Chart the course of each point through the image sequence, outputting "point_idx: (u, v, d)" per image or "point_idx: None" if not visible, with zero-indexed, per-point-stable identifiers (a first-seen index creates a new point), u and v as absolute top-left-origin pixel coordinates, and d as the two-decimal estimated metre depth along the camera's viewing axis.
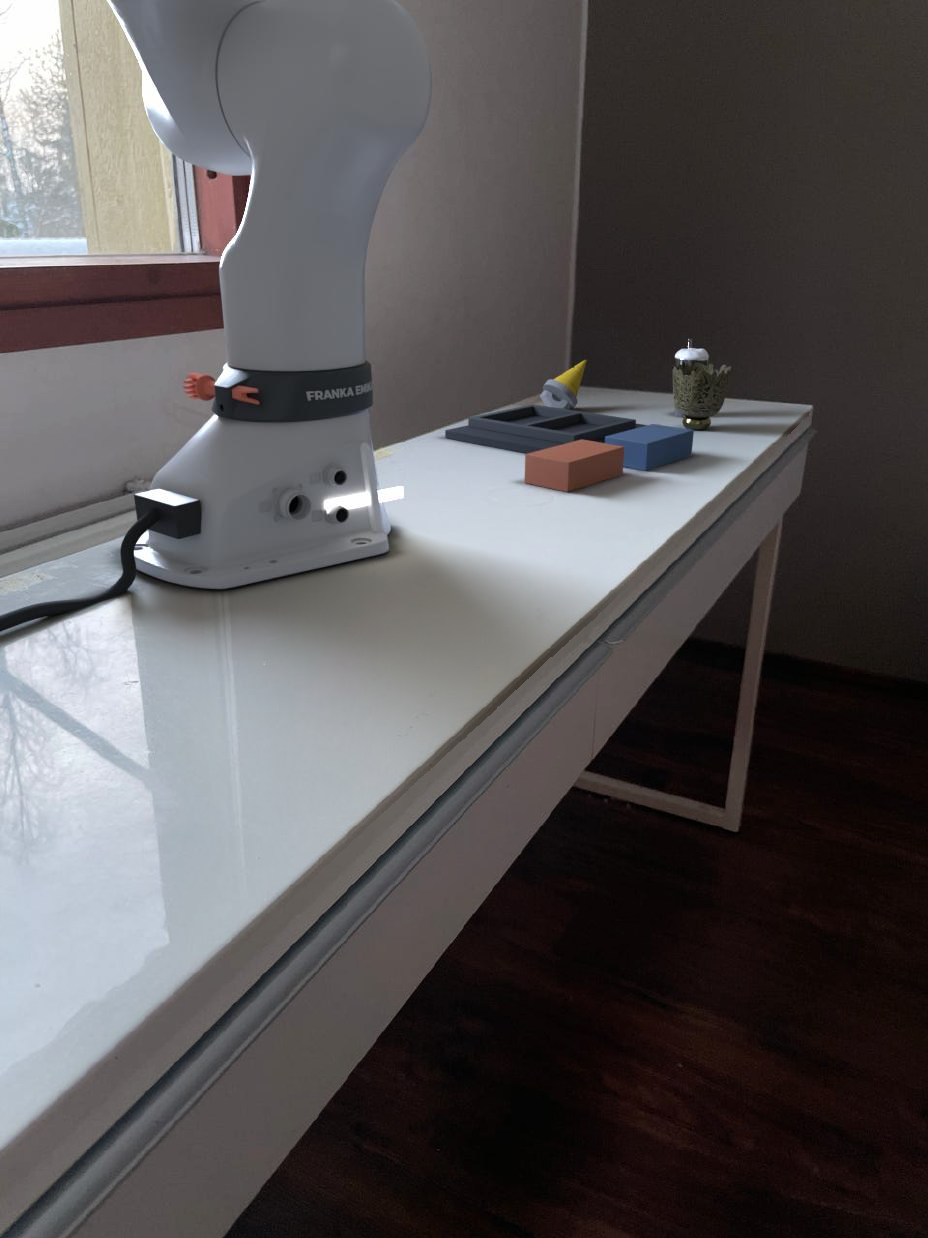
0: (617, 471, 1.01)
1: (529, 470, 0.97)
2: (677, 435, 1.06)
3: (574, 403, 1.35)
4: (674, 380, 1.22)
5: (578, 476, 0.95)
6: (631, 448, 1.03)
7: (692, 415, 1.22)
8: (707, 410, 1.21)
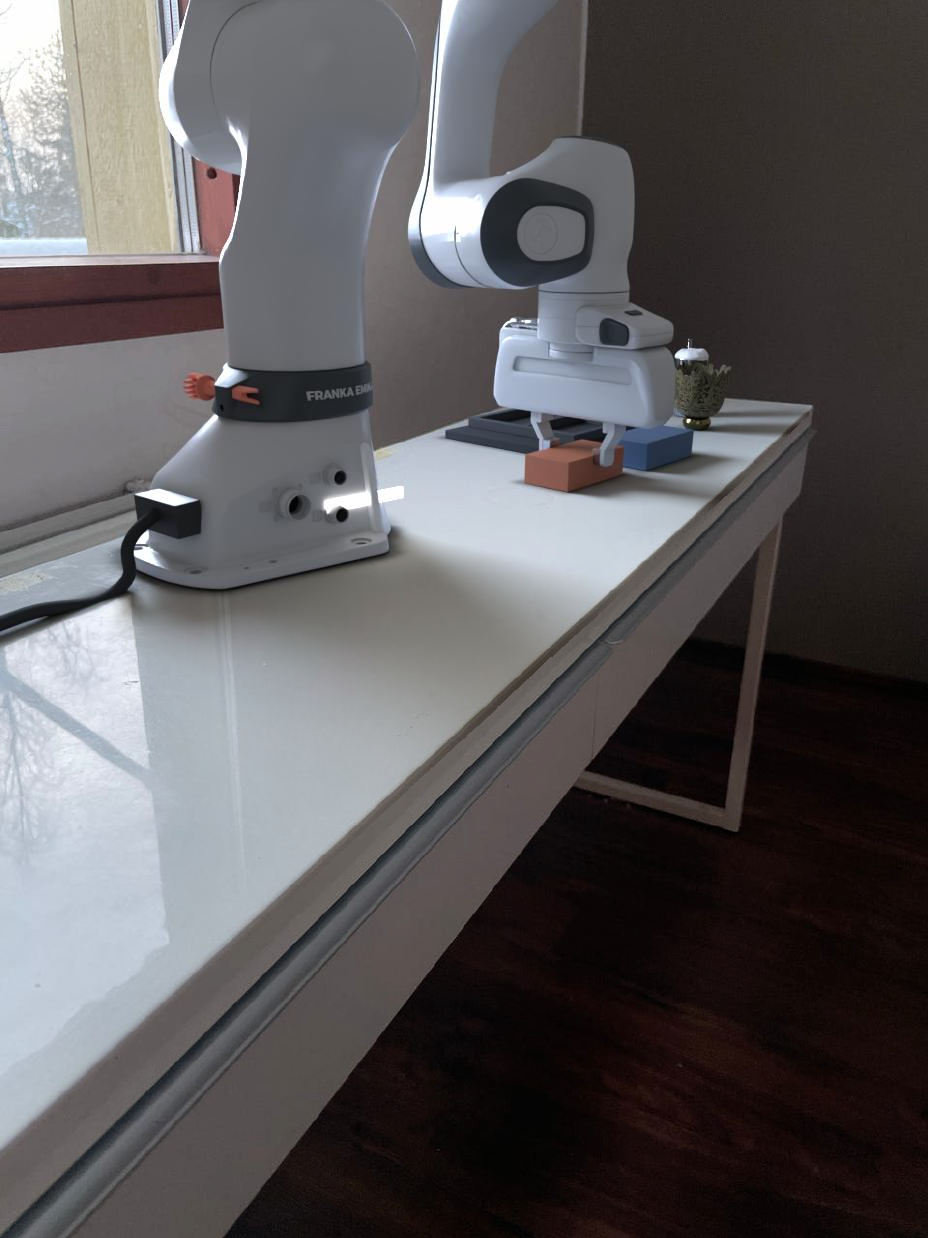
0: (616, 471, 1.01)
1: (529, 470, 0.97)
2: (677, 435, 1.06)
3: None
4: None
5: (578, 476, 0.95)
6: (631, 448, 1.03)
7: (692, 415, 1.22)
8: (707, 410, 1.21)
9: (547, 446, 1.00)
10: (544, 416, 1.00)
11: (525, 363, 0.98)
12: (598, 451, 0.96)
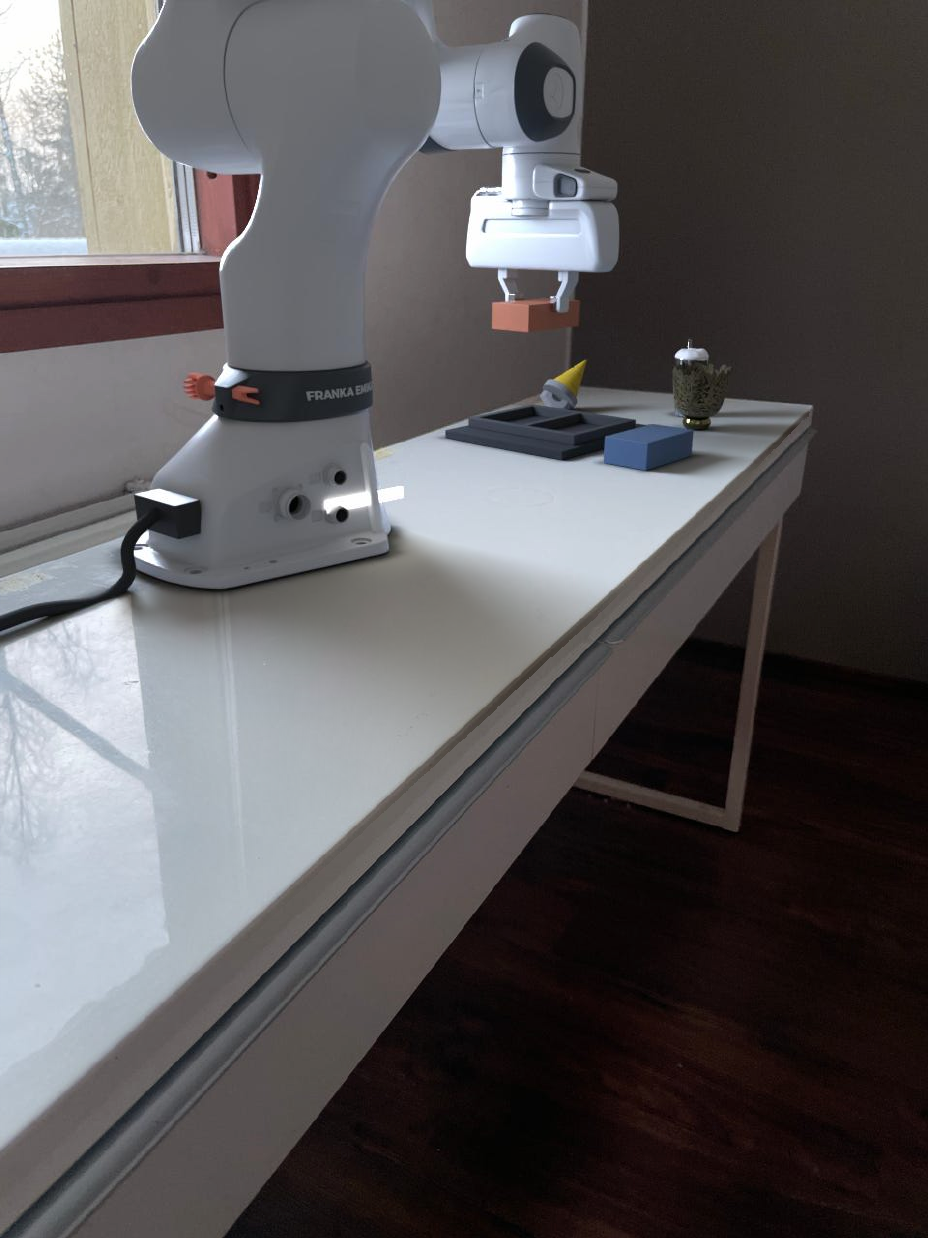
0: (573, 321, 1.16)
1: (496, 317, 1.12)
2: (677, 435, 1.06)
3: (574, 403, 1.35)
4: (674, 380, 1.22)
5: (538, 319, 1.11)
6: (631, 448, 1.03)
7: (692, 415, 1.22)
8: (707, 410, 1.21)
9: (512, 299, 1.15)
10: (509, 273, 1.15)
11: (492, 225, 1.13)
12: (554, 298, 1.11)
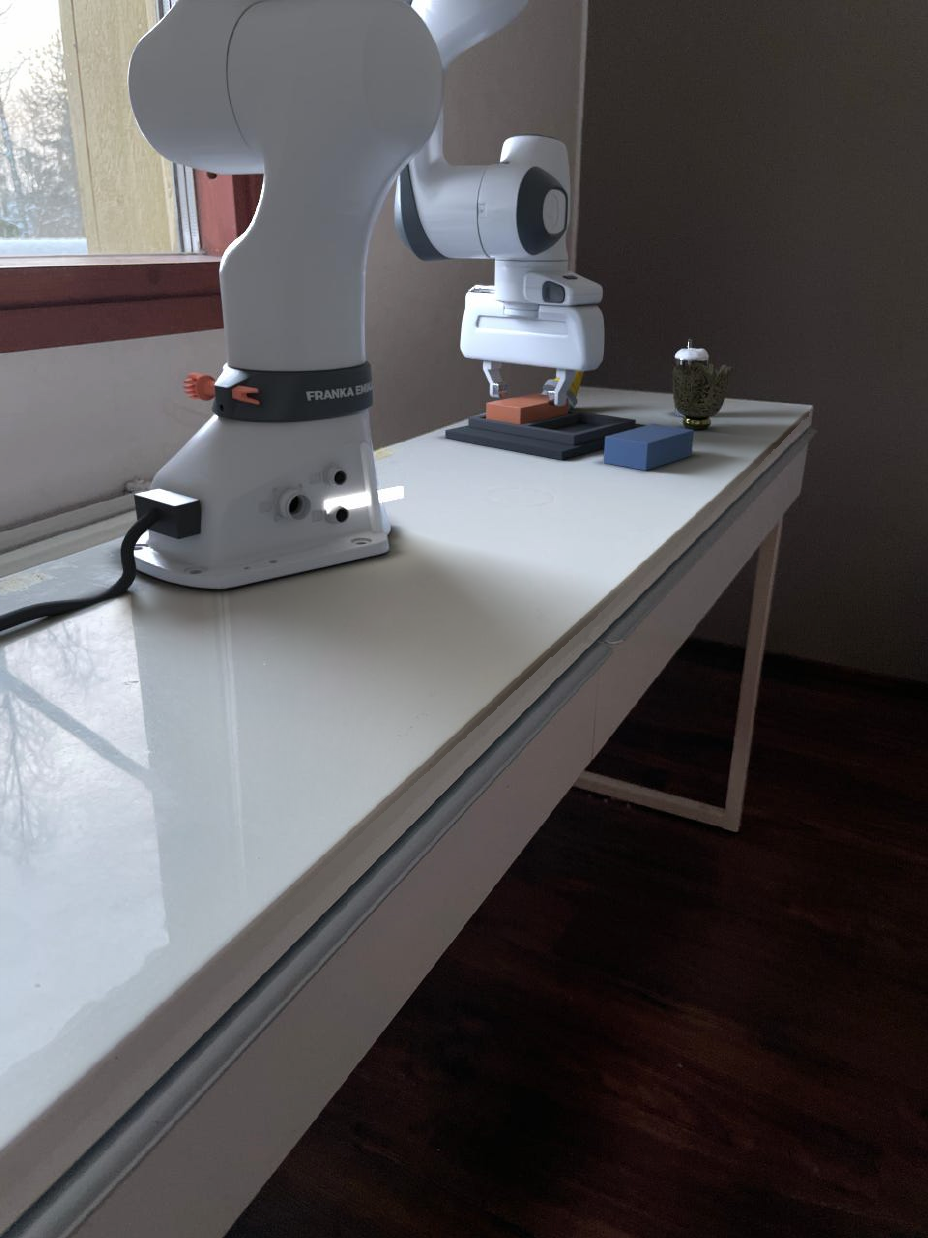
0: None
1: (490, 416, 1.19)
2: (677, 435, 1.06)
3: (574, 403, 1.35)
4: (674, 380, 1.22)
5: (529, 419, 1.18)
6: (631, 448, 1.03)
7: (692, 415, 1.22)
8: (707, 410, 1.21)
9: (496, 389, 1.22)
10: (494, 364, 1.22)
11: (485, 321, 1.20)
12: (552, 393, 1.17)
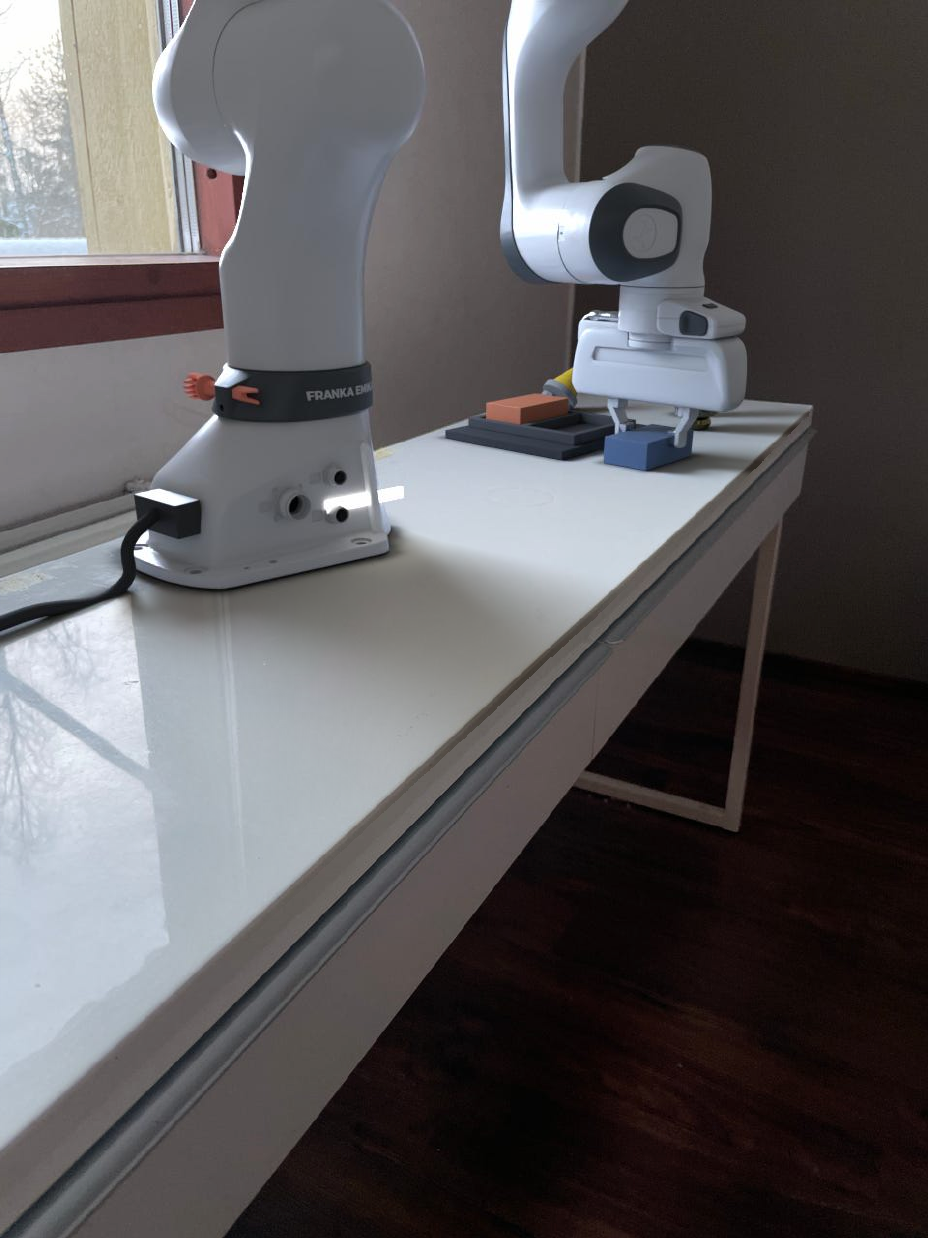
0: None
1: (490, 416, 1.19)
2: None
3: (574, 403, 1.35)
4: None
5: (529, 419, 1.18)
6: (631, 448, 1.04)
7: None
8: (707, 410, 1.21)
9: (623, 429, 1.08)
10: (620, 402, 1.08)
11: (604, 353, 1.06)
12: (672, 433, 1.04)
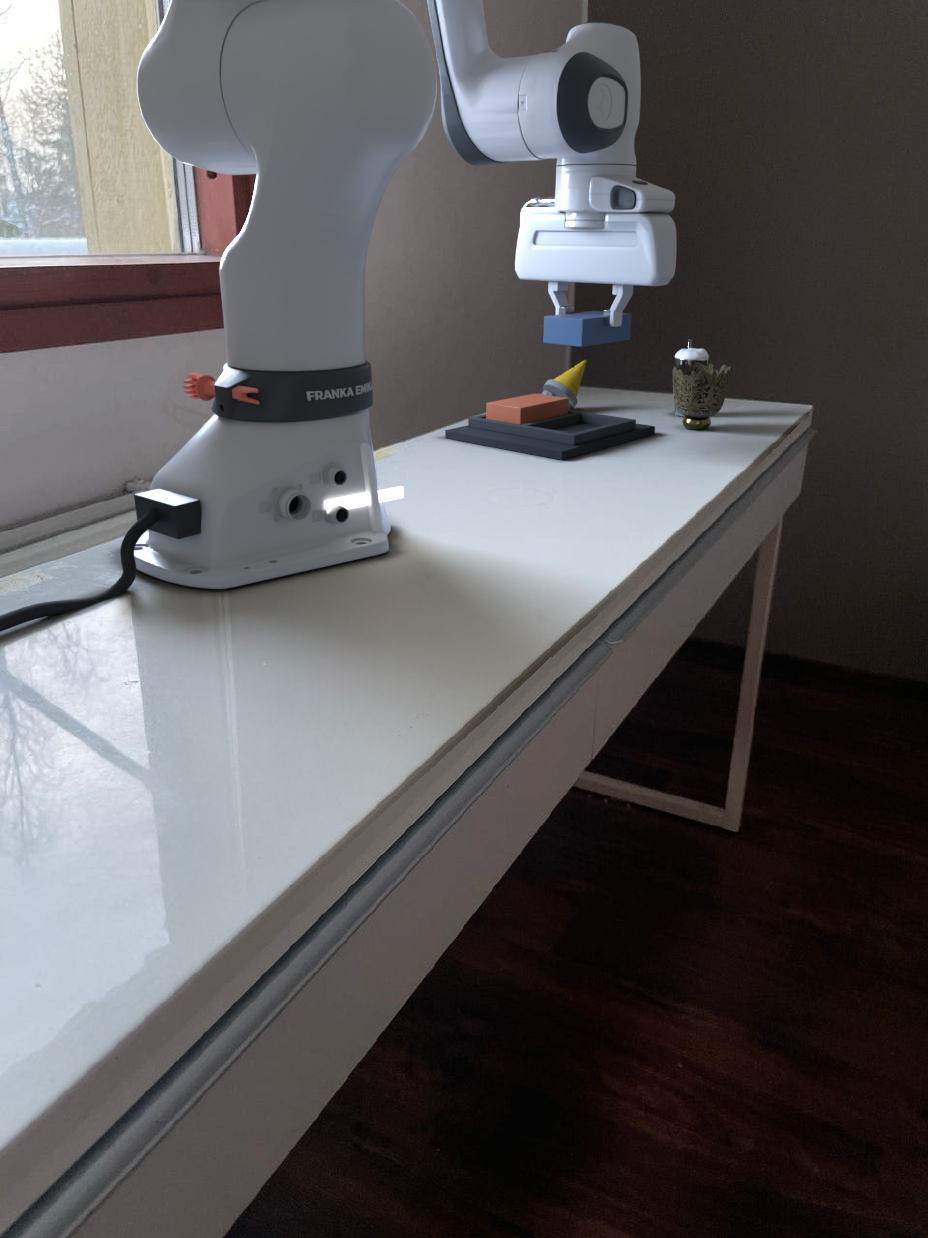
0: None
1: (490, 416, 1.19)
2: None
3: (574, 403, 1.35)
4: (674, 380, 1.22)
5: (529, 419, 1.18)
6: (568, 325, 1.08)
7: (692, 415, 1.22)
8: (707, 410, 1.21)
9: (563, 313, 1.13)
10: (560, 285, 1.12)
11: (543, 237, 1.11)
12: (608, 312, 1.09)
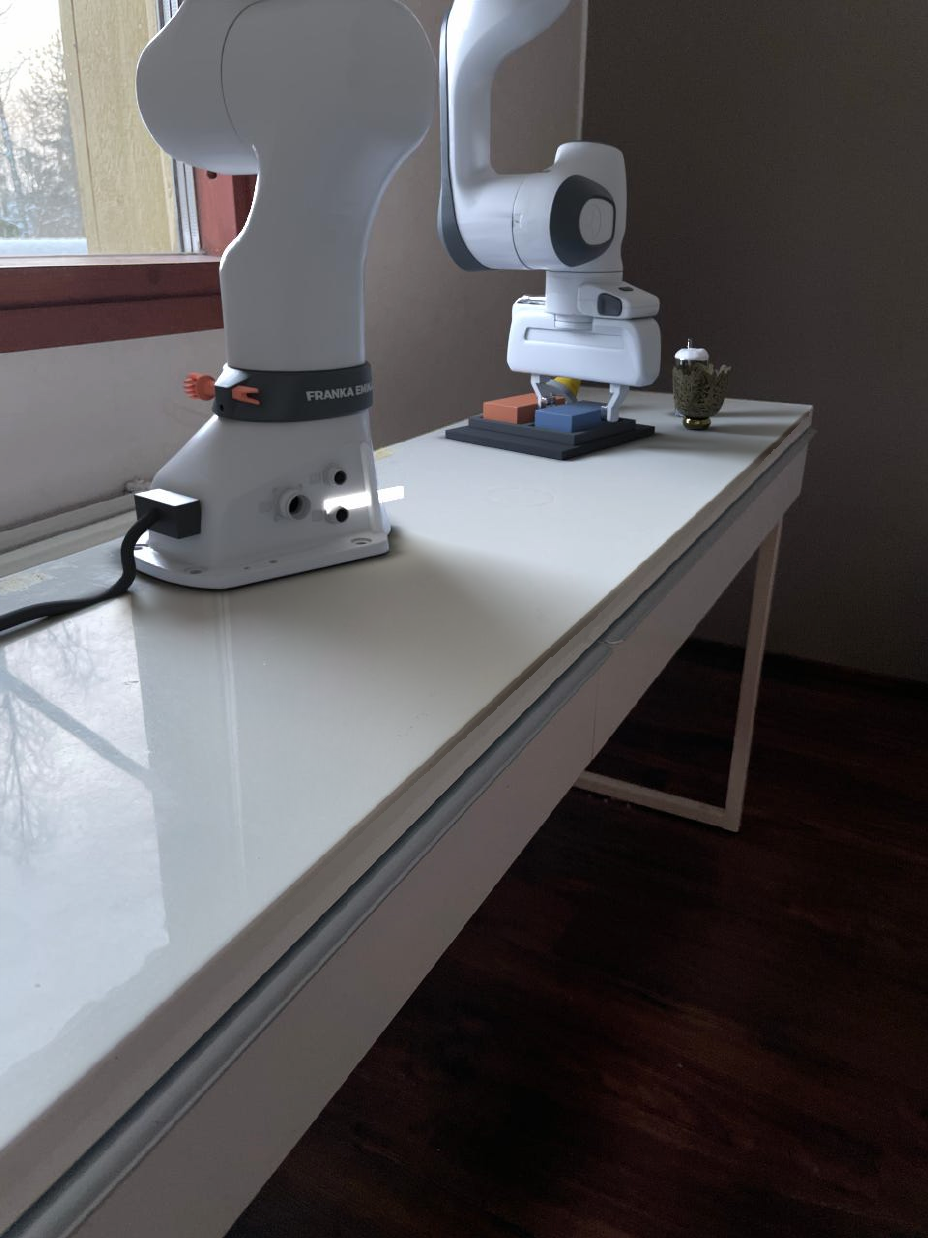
0: None
1: (487, 415, 1.20)
2: None
3: None
4: (674, 380, 1.22)
5: (526, 419, 1.18)
6: (558, 420, 1.13)
7: (692, 415, 1.22)
8: (707, 410, 1.21)
9: (545, 403, 1.18)
10: (542, 378, 1.18)
11: (534, 333, 1.15)
12: (605, 408, 1.13)
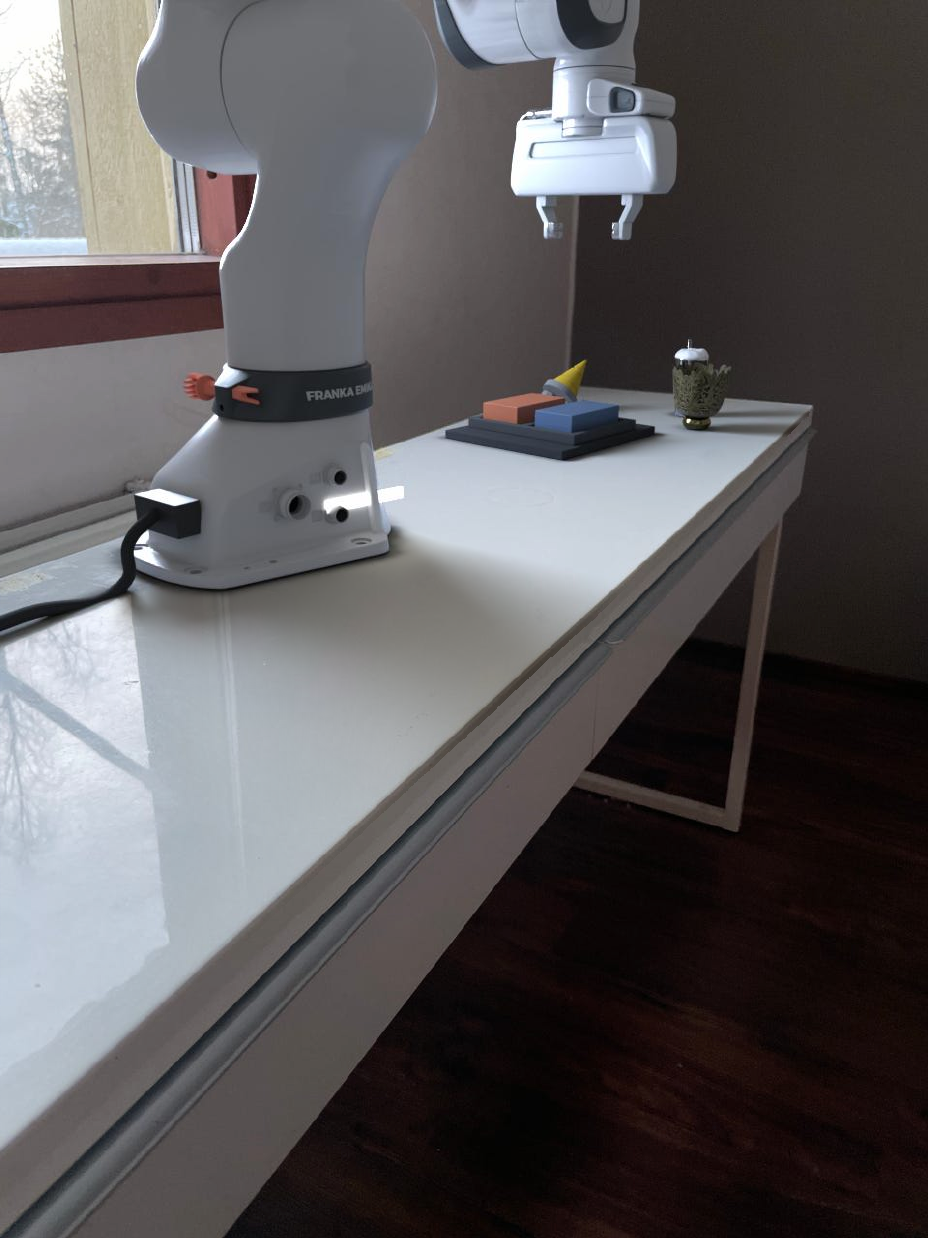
0: None
1: (487, 415, 1.20)
2: (602, 409, 1.16)
3: None
4: (674, 380, 1.22)
5: (526, 419, 1.18)
6: (558, 420, 1.13)
7: (692, 415, 1.22)
8: (707, 410, 1.21)
9: (551, 228, 1.11)
10: (548, 200, 1.10)
11: (540, 149, 1.08)
12: (617, 224, 1.05)
